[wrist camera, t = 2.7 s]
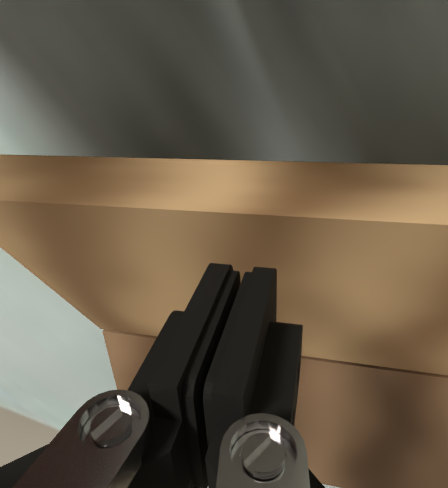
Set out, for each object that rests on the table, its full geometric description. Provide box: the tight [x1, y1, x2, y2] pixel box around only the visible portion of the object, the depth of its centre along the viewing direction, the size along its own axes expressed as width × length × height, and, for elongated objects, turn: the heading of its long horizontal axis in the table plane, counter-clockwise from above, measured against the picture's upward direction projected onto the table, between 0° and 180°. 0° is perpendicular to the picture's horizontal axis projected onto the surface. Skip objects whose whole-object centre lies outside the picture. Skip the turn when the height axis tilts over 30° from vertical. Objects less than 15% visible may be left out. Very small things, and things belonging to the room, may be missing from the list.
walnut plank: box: [103, 329, 448, 488], centre depth 24 cm, size 20×10×2 cm, turn 93°
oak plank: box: [0, 155, 448, 375], centre depth 16 cm, size 20×12×2 cm
